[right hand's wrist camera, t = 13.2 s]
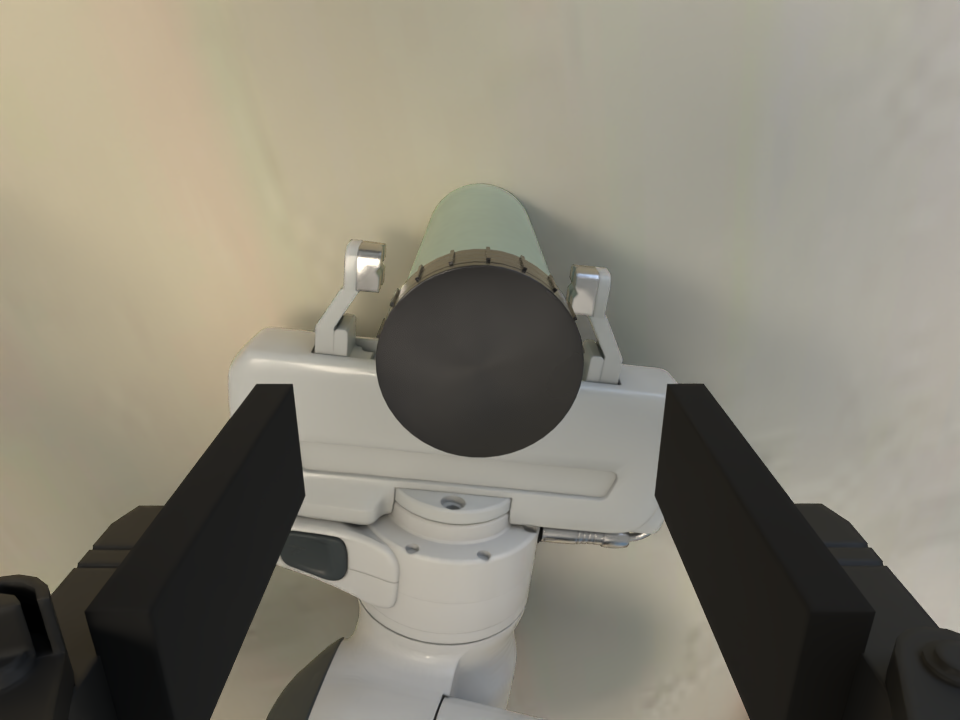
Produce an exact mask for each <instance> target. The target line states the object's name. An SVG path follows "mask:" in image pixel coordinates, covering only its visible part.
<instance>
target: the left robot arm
mask: <svg viewBox="0 0 960 720" xmlns="http://www.w3.org/2000/svg"><path fill="white" fill-rule="evenodd" d="M385 257H386V244H385V243H377V242H369V241H363V240H351V241H350V242H349V243H348V244H347V247H346V252H345V265H344V285H343V286H342V288H341V289H340V291H339V292H338V294H337V295H336V296H335V298H334V299H333V301H332V302H331V304H330V305H329V307H328V308H327V310H326V311H325V313H324V314H323V316H322V317H321V319H320V320H319V321H318V323H317V324H316V326H315V331H305V330H296V329H287V328H278V327H267V328H264V329H262V330H261V331H260V332H258V333H257V334H256V335H255V336H254V337H253V338H251V339H250V340H249V341H248V342H247V343H246V344H245V345H244V346H243V347H242V348H241V350H240V351H239V352H238V353H237V355H236V356H235V357H234V359H233V361H232V363H231V365H230V368H229V373H228V400H229V412H230V418H231V417H232V415H233V414H234V413H235V411H236V410H237V409H238V407H239V406H240V405H241V404H242V402H243V401H244V400H245V398H246V397H247V396H248V394H249V393H250V392H251V390H252V389H253V388H254V386H255V385H256V384H293V389H294V398H295V407H296V415H297V424H298V433H299V442H300V451H301V459H302V468H303V477H304V486H305V495H306V496H305V498H304V501H303V503H302V505H301V508H300V510H299V512H298V515H297V517H296V519H295V522H294V524H293V526H292V529H291V531H290V533H289V536H288V538H287V540H286V543H285V545H284V547H283V550H282V552H281V554H280V557H279V559H278V561H277V564H276V565H278V566H281V567H284V568H286V569H289V570H292V571H295V572H298V573H301V574H303V575H306V576H309V577H311V578H314V579H317V580H319V581H322V582H324V583H327V584H329V585H331V586H334V587H336V588H338V589H340V590H342V591H345V592H347V593H349V594H351V595H353V596H355V597H356V598H358V602H359V618H358V622H357V624H356V628H355V631H354V633H353V635H352V636H351V637H350V638H348V639H345V638H344V637H342V638H341V639H339V640H337V641H336V642H334V643H333V644H331V645H330V646H328V647H327V648H326V649H325V650H323V651H322V652H321V653H320V654H319V655H318V656H317V657H316V658H314V659H313V660H312V661H311V662H310V663H309V664H308V665H307V666H306V667H305V668H303V669H302V670H301V671H300V672H299V673H298V674H297V675H296V676H295V677H294V678H293V679H292V680H291V682H290V683H289V684H288V685H287V686H286V688H285V689H284V690H283V692H282V693H281V695H280V696H279V698H278V699H277V701H276V702H275V704H274V706H273V707H272V709H271V711H270V713H269V715H268V717H267V719H266V720H546V719H542V718H538V717H534V716H530V715H526V714H521V713H517V712H513V711H509V710H506V708H507V704H508V700H509V696H510V691H511V687H512V682H513V677H514V672H515V666H516V658H517V648H516V640H515V635H514V629H515V628H516V626H517V625H518V623H519V621H520V619H521V617H522V615H523V613H524V610H525V606H526V603H527V598H528V593H529V587H530V581H531V576H532V570H533V564H534V559H535V554H536V545H537V543H539V541H541V542H551V543H562V544H586V543H587V544H594V545H600V546H601V547H606V548H625V547H627V546H628V545H629V542H631V541H637V540H641V539H643V538H646V537H648V536H649V535H651V534H654V533H656V532H657V531H658V530H659V529H660V527H661V525H662V523H663V520H664V517H663V515H662V512H661V510H660V508H659V505H658V503H657V501H656V498H655V496H654V495H655V486H656V477H657V468H658V459H659V451H660V442H661V433H662V424H663V415H664V407H665V398H666V389H667V384H678V383H677V382H676V381H675V379H674V378H673V377H672V376H671V374H670V373H669V372H667V371H666V370H664V369H661V368H656V367H646V366H636V365H627V364H622V361H623V358H622V355H621V353H620V350H619V347H618V345H617V342H616V340H615V337H614V334H613V332H612V329H611V326H610V324H609V321H608V318H607V317H606V315H605V312H606V307H607V302H608V296H609V291H610V286H611V274H610V273H609V271H608V270H607V268H603V267H595V266H584V265H574V264H573V265H572V267H571V271H570V279H571V281H572V283H571V284H570V285H569V286H568V289H567V295H566V301H567V303H568V302H570V303H571V305H572V308H573V310H574V312H575V314H579V315H587V316H588V318H589V320H590V323H591V326H592V328H593V331H594V333H595V336H596V339H597V342H595V341H594V340H585V341H584V343H583V347H584V350H585V353H584V369H583V377H582V381H581V386H580V389H579V392H578V394H577V397H576V399H575V401H574V403H573V405H572V407H571V409H570V410H569V412H568V413H567V414H566V416H565V417H564V419H563V420H562V421H561V422H560V423H559V424H558V425H557V426H556V427H555V428H554V429H553V430H552V431H551V432H550V433H549V434H547V435H546V436H545V437H544V438H542V439H540V440H539V441H537V442H536V443H534V444H532V445H530V446H528V447H526V448H524V449H522V450H519V451H516V452H513V453H510V454H506V455H501V456H496V457H486V458H472V457H464V456H458V455H454V454H450V453H446V452H443V451H441V450H438V449H435V448H433V447H431V446H429V445H427V444H425V443H424V442H422V441H421V440H419V439H418V438H416V437H415V436H413V435H412V434H411V433H410V432H409V431H408V430H406V429H405V428H404V427H403V426H402V425H401V424H400V422H399V421H398V420H397V419H396V418H395V417H394V415H393V414H392V412H391V411H390V409H389V408H388V406H387V404H386V402H385V400H384V398H383V396H382V393H381V390H380V387H379V384H378V379H377V374H376V349H377V343H378V339H379V338H372V337H362V336H356V316H355V315H352V314H345V315H344V316H343V314H344V313H345V311H346V310H347V308H348V307H349V305H350V304H351V303H352V301H353V300H354V298H355V297H356V295H357V294H358V292H359V291H367V292H379V291H380V289H381V285H383V282H384V276H385V266H384V264H383V261H384V259H385ZM629 532H634V533H629Z"/></svg>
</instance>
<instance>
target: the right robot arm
mask: <svg viewBox="0 0 960 720" xmlns="http://www.w3.org/2000/svg"><path fill="white" fill-rule="evenodd" d="M305 496H306V495H305V486H304V477H303V468H302V459H301V451H300V442H299V433H298V424H297V415H296V407H295V398H294V389H293V384H256V385H255V386H254V388H253V389H252V390H251V392H250V393H249V394H248V396H247V397H246V398H245V400H244V401H243V402H242V404H241V405H240V406H239V407H238V409H237V410H236V411H235V413H234V414H233V415H232V417H231V418H230V419H229V421H228V422H227V423H226V425H225V426H224V427H223V429H222V430H221V431H220V433H219V434H218V435H217V437H216V438H215V439H214V441H213V442H212V443H211V445H210V446H209V447H208V449H207V450H206V451H205V452H204V454H203V455H202V456H201V458H200V459H199V460H198V462H197V463H196V464H195V466H194V467H193V468H192V470H191V471H190V472H189V474H188V475H187V476H186V478H185V479H184V480H183V482H182V483H181V484H180V486H179V487H178V488H177V490H176V491H175V492H174V494H173V495H172V496H171V497H170V499H169V500H168V501H167V503H166V504H165V505H164V506H138V507H136V508H135V509H133V510H132V511H130V512H129V513H127V514H126V515H124V516H123V517H121V518H120V519H118V520H117V521H115V522H114V523H112V524H111V525H110V526H109V527H108V529H107V530H106V531H105V532H104V533H103V534H102V536H101V537H100V538H99V539H98V540H97V542H96V543H95V544H94V545H93V550H89V551H88V552H87V553H86V555H85V556H84V557H83V558H82V559H81V560H80V562H79V563H78V567H77V568H74V569H73V570H72V571H71V572H70V573H69V575H68V576H67V577H66V578H65V579H64V581H63V582H62V583H61V584H60V585H59V586H58V588H57V589H56V590H55V591H54V592H53V594H52V595H50V592H49V588H48V585H47V584H45V583H44V582H43V581H41V580H40V579H39V578H37V577H32V576H25V575H11V576H3V577H0V720H210V718H211V716H212V713H213V711H214V709H215V706H216V704H217V702H218V699H219V697H220V695H221V692H222V690H223V688H224V685H225V683H226V681H227V678H228V676H229V674H230V671H231V669H232V667H233V664H234V662H235V660H236V657H237V655H238V653H239V650H240V648H241V646H242V643H243V641H244V639H245V636H246V634H247V632H248V629H249V627H250V625H251V622H252V620H253V618H254V615H255V613H256V611H257V608H258V606H259V604H260V601H261V599H262V597H263V594H264V592H265V589H266V587H267V585H268V582H269V580H270V578H271V575H272V573H273V571H274V568H275V566H276V564H277V561H278V559H279V557H280V554H281V552H282V550H283V547H284V545H285V543H286V540H287V538H288V536H289V533H290V531H291V529H292V526H293V524H294V522H295V519H296V517H297V515H298V512H299V510H300V508H301V505H302V503H303V501H304V498H305ZM654 496H655V498H656V501H657V503H658V505H659V508H660V510H661V512H662V515H663V517H664V519H665V522H666V524H667V526H668V529H669V531H670V533H671V536H672V538H673V540H674V543H675V545H676V547H677V550H678V552H679V554H680V557H681V559H682V561H683V564H684V566H685V568H686V571H687V573H688V575H689V578H690V580H691V582H692V585H693V587H694V590H695V592H696V594H697V597H698V599H699V601H700V604H701V606H702V608H703V611H704V613H705V615H706V618H707V620H708V622H709V625H710V627H711V629H712V632H713V634H714V636H715V639H716V641H717V643H718V646H719V648H720V650H721V653H722V655H723V657H724V660H725V662H726V664H727V667H728V669H729V671H730V674H731V676H732V678H733V681H734V683H735V685H736V688H737V690H738V692H739V695H740V697H741V699H742V702H743V704H744V706H745V709H746V711H747V713H748V716H749V718H750V720H960V633H957V632H954V631H951V630H948V629H942V628H939V627H938V626H937V624H936V623H935V622H934V621H933V620H932V619H931V617H930V616H929V615H928V614H927V613H926V612H925V610H924V609H923V608H922V607H921V606H920V604H919V603H918V602H917V601H916V600H915V599H914V597H913V596H912V595H911V594H910V593H909V592H908V590H907V589H906V588H905V587H904V586H903V584H902V583H901V582H900V581H899V580H898V579H897V577H896V576H895V575H894V574H893V573H892V572H891V570H890V569H889V568H888V567H887V566H883V561H882V560H881V559H880V557H879V556H878V555H877V554H876V553H875V552H874V550H873V549H872V548H868V545H867V544H868V543H867V542H866V541H865V540H864V539H863V537H862V536H861V535H860V534H859V533H858V532H857V530H856V529H855V528H854V527H853V526H852V525H851V523H850V522H849V521H847V520H846V519H844V518H842V517H841V516H839V515H838V514H836V513H835V512H833V511H832V510H830V509H829V508H827V507H826V506H824V505H823V504H794V503H793V501H792V500H791V499H790V497H789V496H788V495H787V494H786V492H785V491H784V490H783V488H782V487H781V486H780V484H779V483H778V482H777V480H776V479H775V478H774V476H773V475H772V474H771V472H770V471H769V470H768V468H767V467H766V466H765V464H764V463H763V462H762V460H761V459H760V458H759V456H758V455H757V454H756V452H755V451H754V450H753V449H752V447H751V446H750V445H749V443H748V442H747V441H746V439H745V438H744V437H743V435H742V434H741V433H740V431H739V430H738V429H737V427H736V426H735V425H734V423H733V422H732V421H731V419H730V418H729V417H728V415H727V414H726V413H725V411H724V410H723V409H722V407H721V406H720V405H719V404H718V402H717V401H716V400H715V398H714V397H713V396H712V394H711V393H710V392H709V390H708V389H707V388H706V386H705V385H704V384H667V389H666V398H665V407H664V415H663V424H662V433H661V442H660V451H659V459H658V468H657V477H656V486H655V495H654Z"/></svg>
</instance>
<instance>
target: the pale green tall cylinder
mask: <svg viewBox="0 0 960 720" xmlns="http://www.w3.org/2000/svg"><path fill="white" fill-rule="evenodd" d="M486 247H490V249H491V250H498V251H503V252H507V253H510V254H514V255H516V256H518V257H520V256H521V255H522V256H524V257H525V260H527V261H529V262H530V263H532V264H534V265H535V266H537V267H538V268H539V269H541V270H542V271H543V272H544V273H546V274H547V275H548V276H549V275H550V273H549V270H548V267H547V265H546V262H545V259H544V257H543V254H542V251H541V249H540V246H539V243H538V241H537V238H536V235H535V233H534V230H533V227H532V225H531V222H530V219H529V217H528V214H527V212H526V210H525V209H524V207H523V206H522V204H521V203H520V202H519V201H518V200H517V199H516V198H515V197H514V196H513V195H512V194H510V193H509V192H507V191H506V190H504V189H502V188H499V187H497V186H493V185H489V184H471V185H467V186H463V187H460V188H458V189H456V190H454V191H452V192H451V193H449V194H448V195H447V196H446V197H444V198H443V199H442V200H441V201H440V203H439V204H438V205H437V207H436V208H435V210H434V212H433V214H432V216H431V219H430V221H429V224H428V227H427V229H426V232H425V235H424V237H423V240H422V242H421V245H420V248H419V250H418V253H417V256H416V258H415V261H414V264H413V266H412V269H411V272H410V274H409V277H408V279H409V278H410V277H411V276H412V275H413V274H414V273H415V272H416V271H417V270H418V267H419V266H420V265H421V264H422V265H423V266H424V265H426V264H427V263H429V262H431V261H433V260H435V259H436V258H439V257H441V256H444V255H446V254H449V253H450V251H451V250H454V251H455V252H457V251H461V250H469V249H486ZM408 279H407V280H408Z"/></svg>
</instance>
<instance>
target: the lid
mask: <svg viewBox="0 0 960 720" xmlns="http://www.w3.org/2000/svg"><path fill="white" fill-rule="evenodd" d="M390 306H391V307H390V310H389V312H388V315H387V317H386V319H383V322H382V324H381V327H380V329H379V331H378V334H377V338H379V339H378V343H377V349H376V374H377V379H378V384H379V387H380V390H381V393H382V396H383V398H384V400H385V402H386V404H387V406H388V408H389V409H390V411H391V412H392V414H393V415H394V417H395V418H396V419H397V420H398V421H399V422H400V424H401V425H402V426H403V427H404V428H405V429H406V430H408V431H409V432H410V433H411V434H412V435H413V436H415V437H416V438H418V439H419V440H421V441H422V442H424V443H425V444H427V445H429V446H431V447H433V448H435V449H438V450H441V451H443V452H446V453H450V454H454V455H458V456H464V457H472V458H486V457H496V456H501V455H506V454H510V453H513V452H516V451H519V450H522V449H524V448H526V447H528V446H530V445H532V444H534V443H536V442H537V441H539V440H540V439H542V438H544V437H545V436H546V435H547V434H549V433H550V432H551V431H552V430H553V429H554V428H555V427H556V426H557V425H558V424H559V423H560V422H561V421H562V420H563V419H564V417H565V416H566V414H567V413H568V412H569V410H570V409H571V407H572V405H573V403H574V401H575V399H576V397H577V394H578V392H579V389H580V386H581V381H582V377H583V369H584V353H585V350H584V347H583V345H582V341H581V336H580V334H579V331H578V328H577V325H576V323H575V321H576V320H577V317H576V315H575V312H574V310H573V308H572V305H571V303H570V302H568V303H567V301H566V299H565V298H564V296H563V294H562V292H561V291H560V289H559V288H558V287H557V285H556V284H555V282H554V279H553V277H552V276H551V275H549V276H548V275H547V274H546V273H544V272H543V271H542V270H541V269H539V268H538V267H537V266H535V265H534V264H532V263H530V262H529V261H527V260H525V257H524V256H522V255H521V256H520V257H518V256H516V255H514V254H510V253H507V252H503V251H498V250H491V249H490V247H486V249H469V250H461V251H457V252H455V251H454V250H451V251H450V253H449V254H446V255H444V256H441V257H439V258H436V259H435V260H433V261H431V262H429V263H427V264H426V265H424V266H423V265H422V264H421V265H420V266H419V267H418V270H417V271H416V272H415V273H414V274H413V275H412V276H411V277H410V278H409V279H408V280H407V281H406V282H405V284H404V285H403V286H402V287H401V289H400V290H399V289H398V288H397V290H396V291H395V294H394V296H393V298H392V301H391V303H390Z"/></svg>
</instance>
